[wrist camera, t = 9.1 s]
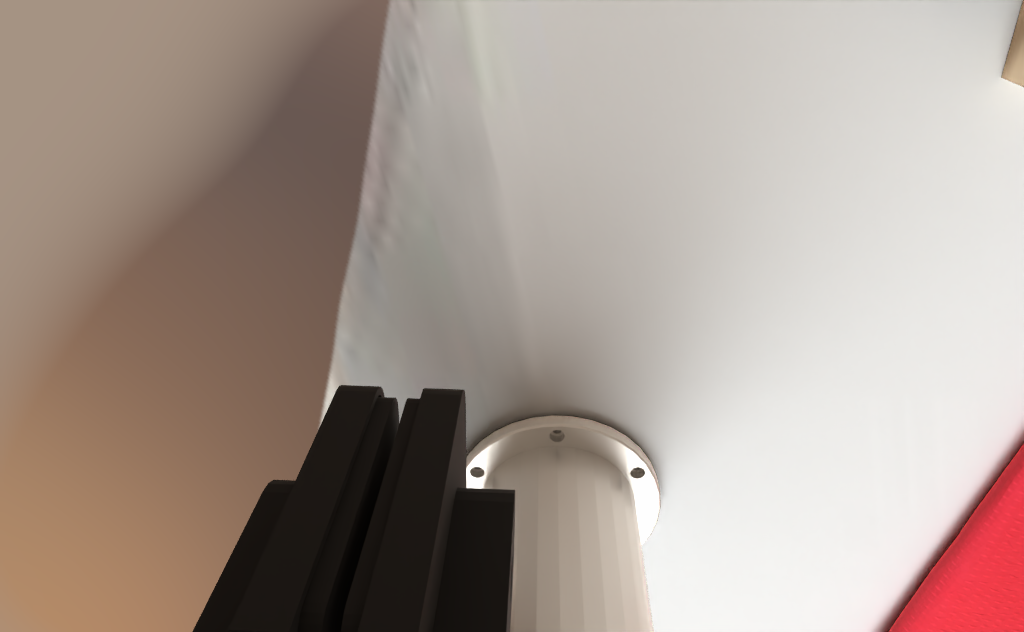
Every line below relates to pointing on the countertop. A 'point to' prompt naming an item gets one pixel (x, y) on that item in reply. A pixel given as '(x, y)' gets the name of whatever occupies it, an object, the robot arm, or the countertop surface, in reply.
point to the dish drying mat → (978, 568)
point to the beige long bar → (1016, 54)
